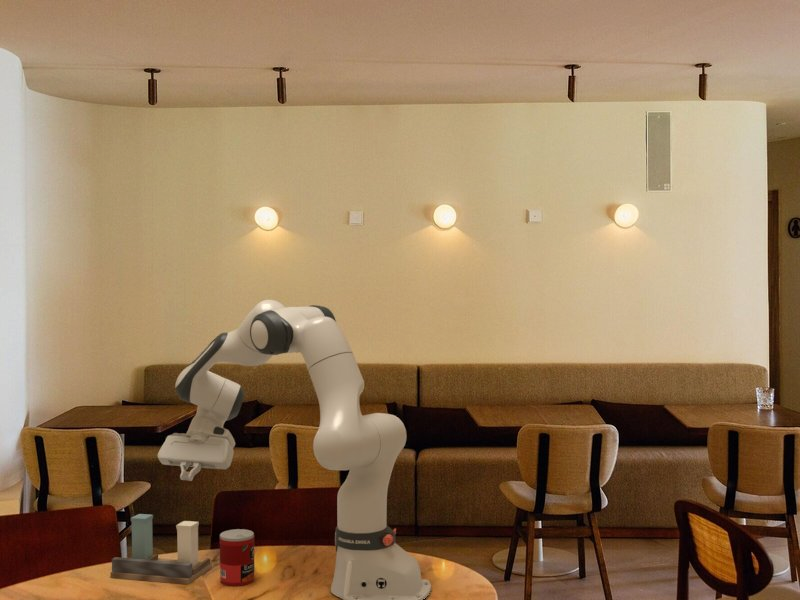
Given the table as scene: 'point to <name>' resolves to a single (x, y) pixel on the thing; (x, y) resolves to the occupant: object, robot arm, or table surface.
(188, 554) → the cream tall block
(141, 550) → the light blue tall block
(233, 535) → the canned food
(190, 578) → the board
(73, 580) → the table surface
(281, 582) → the table surface
